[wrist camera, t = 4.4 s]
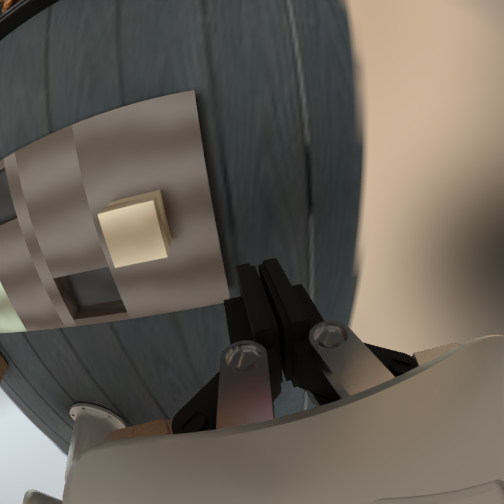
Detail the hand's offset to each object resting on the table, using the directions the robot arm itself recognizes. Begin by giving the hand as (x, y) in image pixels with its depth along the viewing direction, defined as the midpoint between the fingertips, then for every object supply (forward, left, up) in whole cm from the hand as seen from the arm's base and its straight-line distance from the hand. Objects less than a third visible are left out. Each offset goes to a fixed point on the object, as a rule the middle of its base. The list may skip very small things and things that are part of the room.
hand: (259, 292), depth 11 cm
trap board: (0, +21, -18) cm, 28 cm away
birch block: (0, +8, -15) cm, 17 cm away
